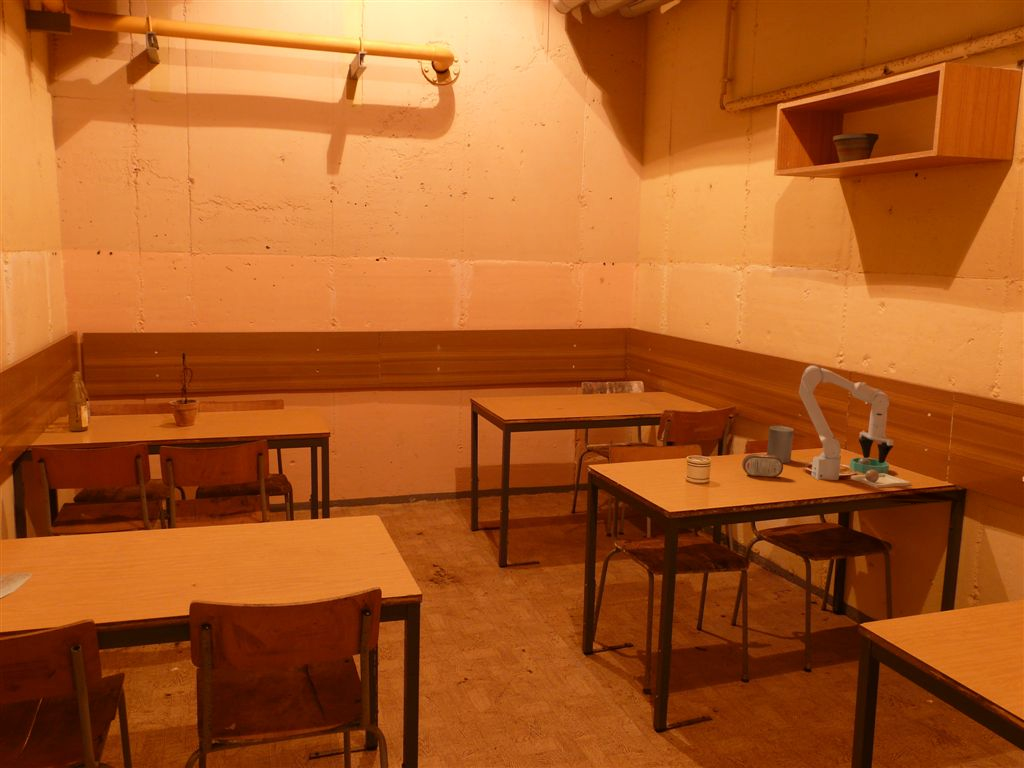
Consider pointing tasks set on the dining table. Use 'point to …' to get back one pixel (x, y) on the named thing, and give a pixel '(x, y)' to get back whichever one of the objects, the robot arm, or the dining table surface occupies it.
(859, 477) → the tray
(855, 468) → the teal bowl
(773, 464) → the tin
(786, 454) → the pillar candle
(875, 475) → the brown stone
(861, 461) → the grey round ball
